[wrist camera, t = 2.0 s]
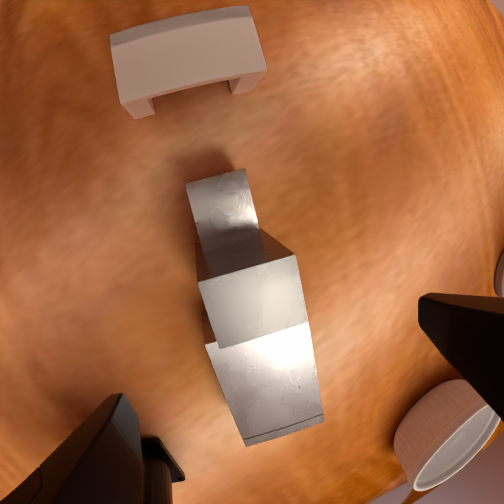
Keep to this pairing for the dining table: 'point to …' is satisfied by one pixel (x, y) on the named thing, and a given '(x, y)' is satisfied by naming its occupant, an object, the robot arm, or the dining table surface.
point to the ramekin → (443, 433)
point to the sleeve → (268, 382)
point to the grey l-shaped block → (241, 264)
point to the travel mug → (500, 277)
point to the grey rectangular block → (186, 56)
